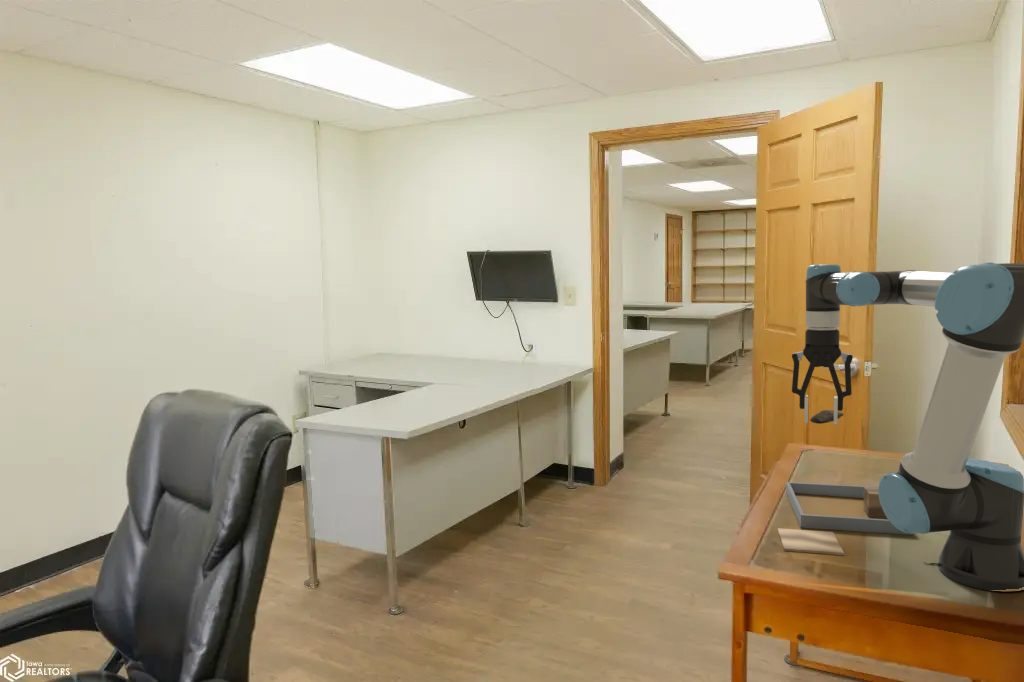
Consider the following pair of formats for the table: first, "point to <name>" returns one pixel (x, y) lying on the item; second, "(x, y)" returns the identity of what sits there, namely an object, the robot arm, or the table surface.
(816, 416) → the stone
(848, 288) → the robot arm
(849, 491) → the parts tray
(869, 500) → the walnut block
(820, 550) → the cork pad
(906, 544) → the table surface
